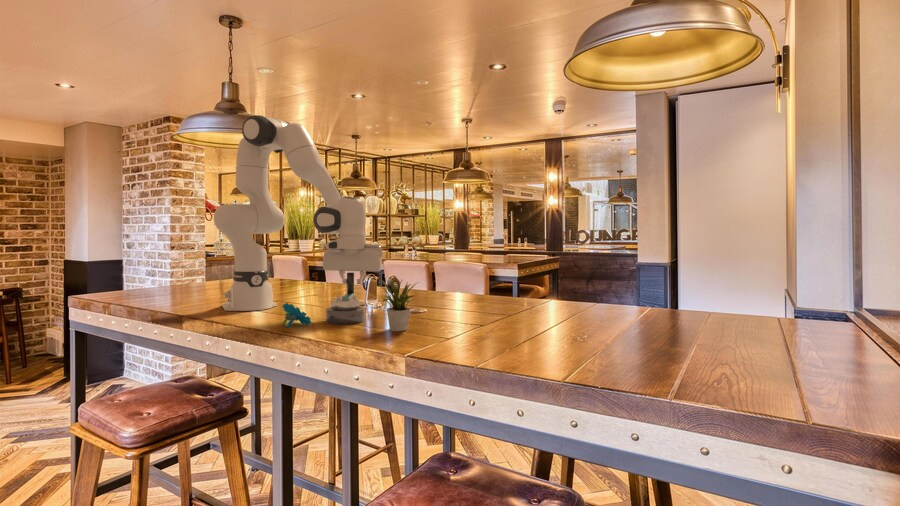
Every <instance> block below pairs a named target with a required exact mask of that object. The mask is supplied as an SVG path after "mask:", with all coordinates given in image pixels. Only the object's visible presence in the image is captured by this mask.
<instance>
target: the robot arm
mask: <svg viewBox="0 0 900 506" xmlns="http://www.w3.org/2000/svg"><path fill="white" fill-rule="evenodd" d="M241 133H242V136H243V137H242V138H241V139H240V140H239V144H238V147H237V151H236V152H237V153H236V159H235V161H236V162H235V186H236V188H237V190H238V191H239V192H241V193H242V194H244V195H245V196H246V197H247V198H248V200H249V204H247V203H246V204H245V203H229V204H224V205H219V206H218V207H217V208H216V209H215V211H214V214H213V223H214V225H215V227H216V229H217V230H218V231H219V232H221V233H222V234H223V235H224V236H225V237H226V238H227V239H228V241H229V242H230V244H231V246H232V250H233V257H234V271H233V274H232V276H233V277H232V279H233V282H232V284H231V285H230V288H229V289H228V290H227V291H225V292H224V298H225V299H227V302H222V304H221V306H222V308H223V309H224V311H229V312H230V311H231V312H232V311H233V312H234V311H237V312H239V311H240V312H244V311H245V312H247V311H249V312H250V311H261V310H268V309H271V308H273V307H277V306H278V305H277V304H278V303H276V302H274V295H273V285H272V284H271V283H270V282H269V281H268V280H269V270H268V258H267V256H268V254H267V253H268V252H267V250H266V248H265V247H264V246H263V245H261V244H259V243H256V241H255V239H254V237H253V235H262V234H264V235H268V234H269V235H270V234H273V233H277V232H280V231H281V230H282V229H283V227H284V225H285V219H286V218H285V214H284V213H283V211H282V210H281V208H280V207H278V206H277V204H275V201H274V200H273V199H272V197H271V193H270V188H269V158H270V155H271V154H272V152H273V153H276V154H278V153H281V152H283V153H284V156H285V158H286V161H287V163H288V166H289V167H290V169H291V171H292V172H293V173H294V175H295V176H296V177H298V178H300V180H303V181H306V182H307V183H309V184H310V185H311V186H313V187H314V188H316V190H318V191H319V193H320V194H321V196H322V198H323V200H324V202H325V204H326V205H325V206H321V207H319V208H317V209H316V210H315V213H314V214H313V218H312V219H313V225H314V228H315V229H316V230H317V231H318V232H319V233H322V234H326V235H339V238H338V239H334V240H332V241H329V242H326V243H325V249H326V250H324V253H323V258H322V269H323V270H324V271H333V272H334V271H335V272H336V271H338V272H339V274H338V275H339V276H340V278H341V279H342V285H347V277H346V276H345V274H346V272H359V274H360V275H361V276H360V277H359V278H357V279H356V285H363V279H364V277H365V276H366V272H371V273H372V272H375V273H376V272H377V273H378V272H381V270H382V269H383V261H382V257H383V248H382V247H381V245H379V244H371V243H370V244H369V243H367V244H366V242H367V241H366V240H367V235H366V230H365V229H366V223H367V213H366V212H367V211H366V205H365V202H364V200H362V199H361V198H357V197H354V196H353V197H352V196H347V195H346V196H342V194H341V192H340V190H339V187H338V186H337V184H336V182H335V180H334V178H333V177H332V175H331V174H330V172H329V170H328V169H327V166H326V165H325V163H324V161H323V159H322V157H321V155H320V153H319V151H318V149H317V146H316V144H315V142H314V140H313V138H312V137H311V134H310V133H309V132H308V130H307V128H306V127H305V126H304V125H303V124H301V123H298V122H291V123H290V122H288V121H284V120H282V119H278V118H276V117H270V116H264V115H258V114H256V115H249V116H248V117H247V118H245V120H244V121H243V122H242V127H241Z"/></svg>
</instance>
